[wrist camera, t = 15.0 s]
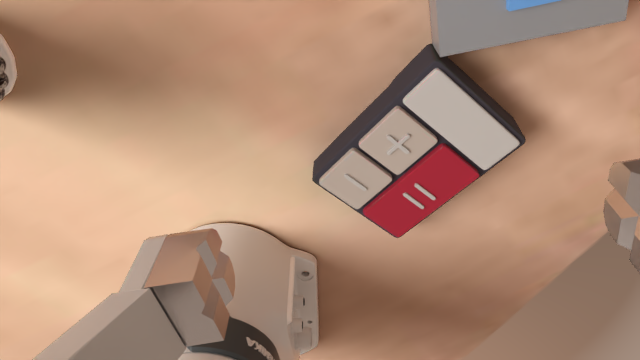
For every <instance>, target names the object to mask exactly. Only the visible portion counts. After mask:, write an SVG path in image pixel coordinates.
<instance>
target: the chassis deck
mask: <svg viewBox="0 0 640 360" xmlns="http://www.w3.org/2000/svg"><path fill="white" fill-rule="evenodd" d="M628 2H629V0H561V1H556V2H551V3H547V4H542V5H537V6H532V7H528V8H523V9H518V10H514V11H508V10H507V9H506V0H429V8H430V21H431V33H432V44H433V46H434V48H435V50H436V51H437V53H438V55H439V56H440V57H444V56H449V55H454V54H459V53H464V52H469V51H474V50H479V49H484V48H489V47H494V46H499V45H504V44H509V43H514V42H519V41H524V40H529V39H534V38H539V37H544V36H549V35H554V34H559V33H564V32H569V31H574V30H580V29H585V28H590V27H595V26H600V25H605V24H610V23H615V22H620V21H625V20H626V15H627V8H628Z"/></svg>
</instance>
